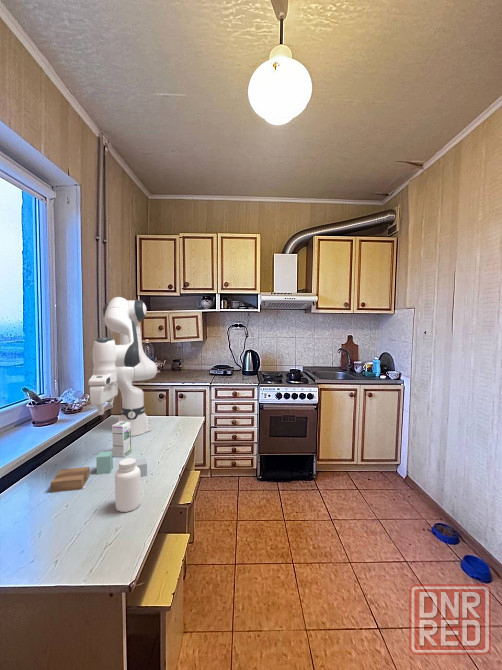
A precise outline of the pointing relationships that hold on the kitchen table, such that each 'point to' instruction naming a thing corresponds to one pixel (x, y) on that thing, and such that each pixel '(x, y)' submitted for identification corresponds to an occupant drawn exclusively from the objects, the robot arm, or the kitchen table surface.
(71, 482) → the base block
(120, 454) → the syrup box
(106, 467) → the teal block
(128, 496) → the pill bottle
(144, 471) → the grey block
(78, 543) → the kitchen table surface
